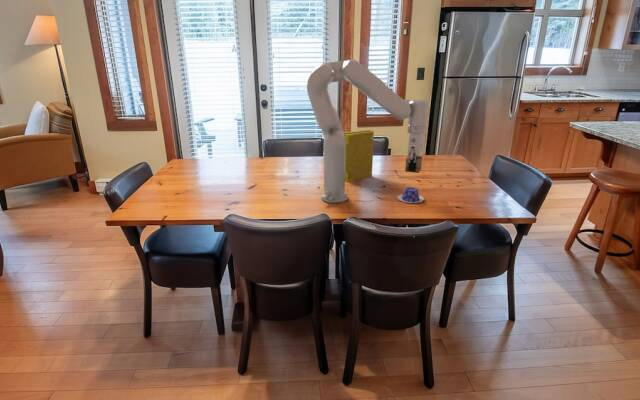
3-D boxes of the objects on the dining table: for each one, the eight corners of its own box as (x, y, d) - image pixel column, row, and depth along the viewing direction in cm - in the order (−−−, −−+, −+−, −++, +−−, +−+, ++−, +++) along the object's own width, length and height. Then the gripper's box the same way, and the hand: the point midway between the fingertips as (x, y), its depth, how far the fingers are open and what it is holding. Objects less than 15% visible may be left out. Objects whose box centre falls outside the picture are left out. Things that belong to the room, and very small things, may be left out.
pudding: (394, 201, 171) (394, 191, 169) (401, 193, 180) (402, 183, 178) (420, 206, 165) (421, 195, 163) (426, 197, 175) (427, 186, 173)
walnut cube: (418, 173, 164) (419, 159, 162) (405, 171, 166) (406, 158, 164) (421, 169, 169) (422, 156, 167) (408, 167, 171) (408, 155, 169)
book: (346, 181, 197) (346, 134, 187) (340, 178, 203) (341, 132, 193) (374, 177, 203) (376, 132, 193) (368, 174, 208) (369, 129, 199)
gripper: (421, 133, 152) (418, 175, 159) (428, 126, 167) (425, 164, 173) (403, 132, 155) (400, 173, 162) (411, 125, 170) (409, 163, 176)
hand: (413, 168), depth 167 cm, fingers closed on walnut cube, 6 cm apart
